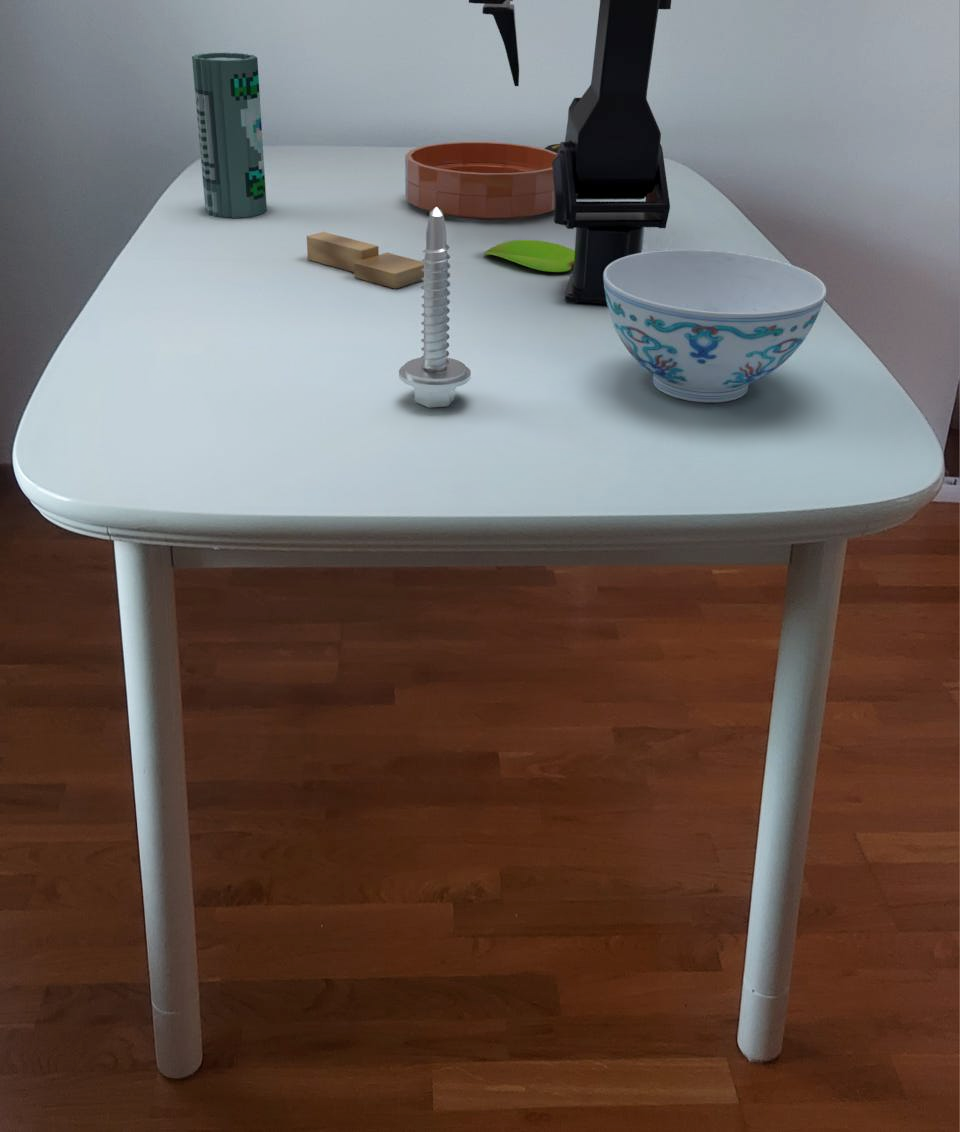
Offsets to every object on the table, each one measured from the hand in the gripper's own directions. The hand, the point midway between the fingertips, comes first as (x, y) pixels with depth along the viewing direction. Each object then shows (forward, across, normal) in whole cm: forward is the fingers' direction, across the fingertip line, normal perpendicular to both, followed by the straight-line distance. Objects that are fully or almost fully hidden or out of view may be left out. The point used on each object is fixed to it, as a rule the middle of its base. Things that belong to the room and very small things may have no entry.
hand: (563, 87), depth 114 cm
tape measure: (+14, -2, -23) cm, 26 cm away
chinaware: (+14, -9, +43) cm, 46 cm away
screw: (+14, +9, +48) cm, 51 cm away
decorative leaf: (+14, +2, +13) cm, 19 cm away
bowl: (+14, +8, -10) cm, 18 cm away
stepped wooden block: (+14, +18, +17) cm, 28 cm away
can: (+14, +34, -3) cm, 36 cm away
